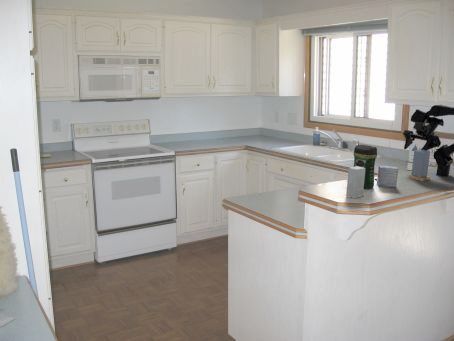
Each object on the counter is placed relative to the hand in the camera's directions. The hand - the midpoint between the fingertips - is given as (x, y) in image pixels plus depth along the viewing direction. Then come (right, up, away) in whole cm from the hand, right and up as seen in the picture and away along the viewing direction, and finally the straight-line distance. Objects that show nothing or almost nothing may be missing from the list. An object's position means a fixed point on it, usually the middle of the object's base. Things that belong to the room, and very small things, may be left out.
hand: (412, 150), depth 241 cm
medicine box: (-19, -17, -20) cm, 33 cm away
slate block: (+1, -12, -7) cm, 14 cm away
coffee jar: (-31, -17, -24) cm, 43 cm away
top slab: (+1, -14, -6) cm, 15 cm away
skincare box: (-39, -21, -41) cm, 60 cm away
